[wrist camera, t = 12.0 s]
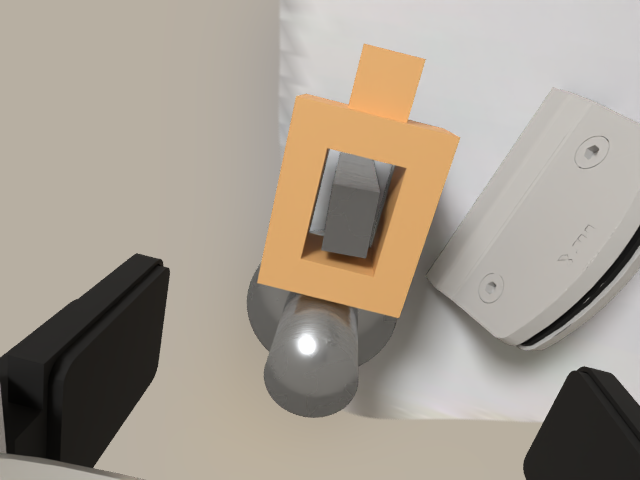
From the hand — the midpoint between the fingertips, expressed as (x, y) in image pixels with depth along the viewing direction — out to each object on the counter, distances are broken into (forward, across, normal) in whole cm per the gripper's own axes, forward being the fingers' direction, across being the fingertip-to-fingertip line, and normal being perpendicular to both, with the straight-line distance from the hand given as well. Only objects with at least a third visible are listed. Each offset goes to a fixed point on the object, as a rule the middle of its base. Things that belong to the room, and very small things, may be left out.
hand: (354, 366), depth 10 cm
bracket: (+18, 0, -1) cm, 18 cm away
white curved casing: (+25, -13, 0) cm, 28 cm away
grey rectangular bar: (+24, 0, +1) cm, 25 cm away
